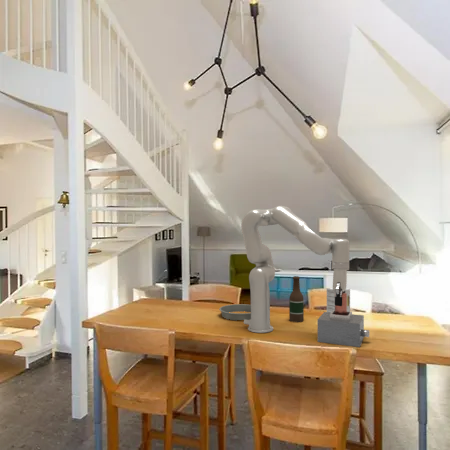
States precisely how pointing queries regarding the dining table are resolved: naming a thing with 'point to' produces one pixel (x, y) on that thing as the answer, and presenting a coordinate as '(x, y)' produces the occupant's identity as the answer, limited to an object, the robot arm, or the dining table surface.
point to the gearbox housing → (341, 329)
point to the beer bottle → (296, 302)
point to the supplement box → (332, 299)
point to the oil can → (342, 309)
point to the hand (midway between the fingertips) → (340, 303)
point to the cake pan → (236, 308)
